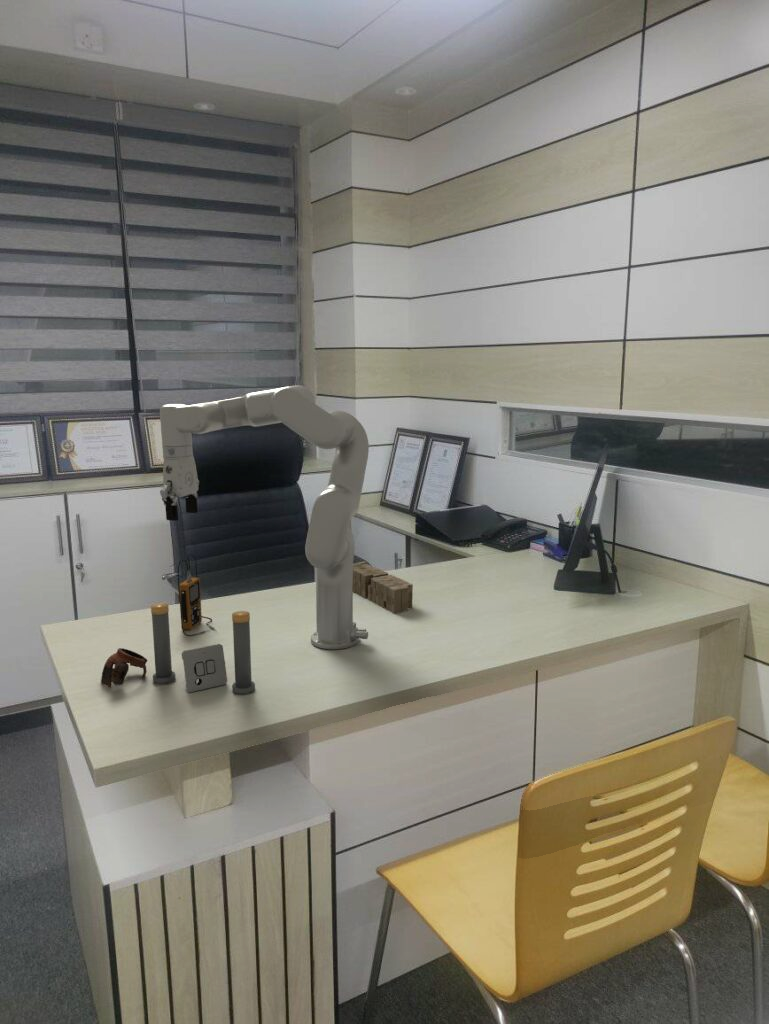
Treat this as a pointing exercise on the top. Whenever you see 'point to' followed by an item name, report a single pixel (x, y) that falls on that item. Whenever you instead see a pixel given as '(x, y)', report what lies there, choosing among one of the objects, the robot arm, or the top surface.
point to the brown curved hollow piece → (121, 666)
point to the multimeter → (190, 601)
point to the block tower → (382, 588)
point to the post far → (162, 644)
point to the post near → (242, 654)
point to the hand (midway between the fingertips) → (182, 516)
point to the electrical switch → (204, 667)
